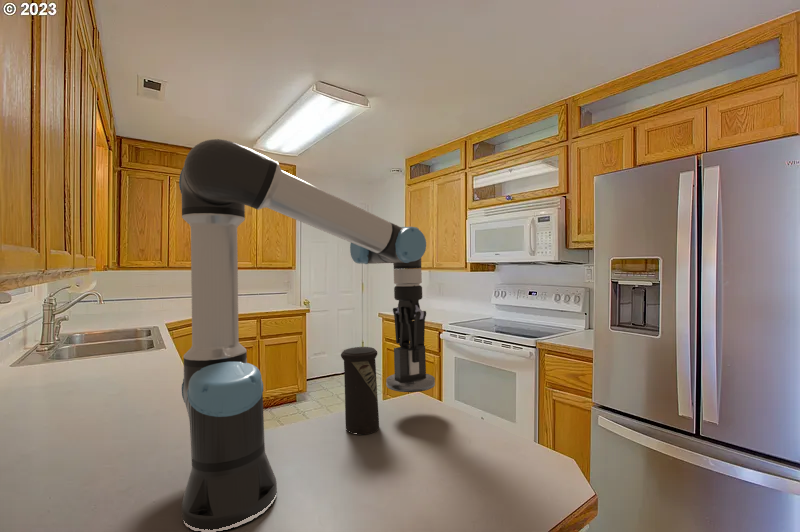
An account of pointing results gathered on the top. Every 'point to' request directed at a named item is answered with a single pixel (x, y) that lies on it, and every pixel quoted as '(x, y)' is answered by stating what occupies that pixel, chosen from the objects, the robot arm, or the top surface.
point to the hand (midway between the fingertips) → (410, 372)
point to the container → (360, 390)
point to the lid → (402, 378)
